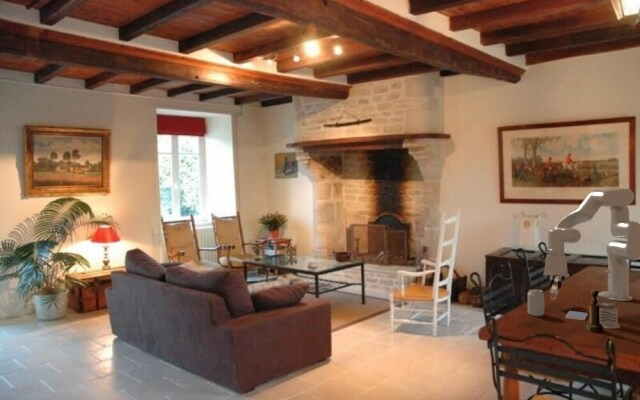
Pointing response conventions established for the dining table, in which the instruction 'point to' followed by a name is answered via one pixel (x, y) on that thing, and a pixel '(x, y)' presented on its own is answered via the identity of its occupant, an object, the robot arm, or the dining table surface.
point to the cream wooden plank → (554, 289)
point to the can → (535, 303)
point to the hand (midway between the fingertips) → (556, 287)
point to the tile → (576, 315)
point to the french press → (608, 310)
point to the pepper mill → (594, 314)
